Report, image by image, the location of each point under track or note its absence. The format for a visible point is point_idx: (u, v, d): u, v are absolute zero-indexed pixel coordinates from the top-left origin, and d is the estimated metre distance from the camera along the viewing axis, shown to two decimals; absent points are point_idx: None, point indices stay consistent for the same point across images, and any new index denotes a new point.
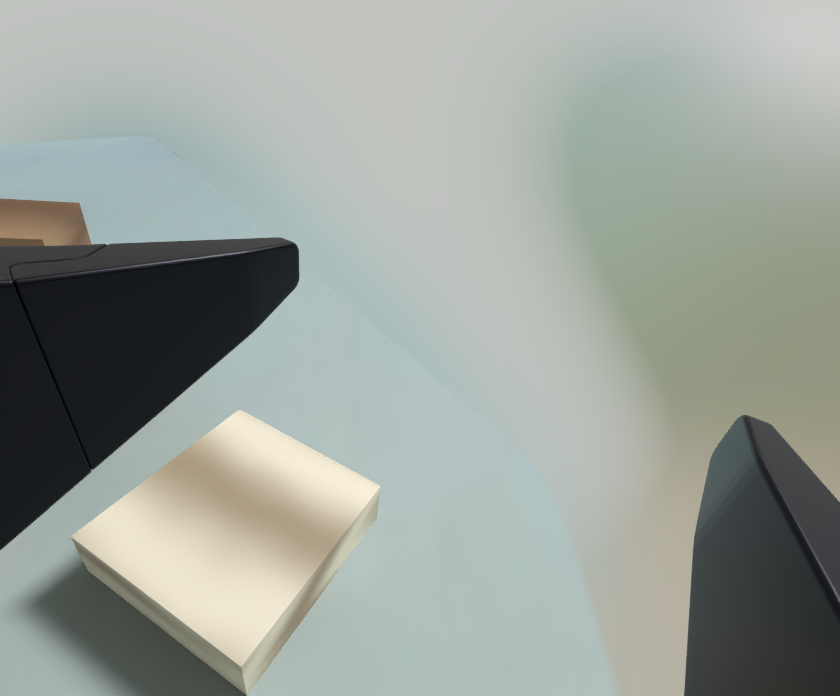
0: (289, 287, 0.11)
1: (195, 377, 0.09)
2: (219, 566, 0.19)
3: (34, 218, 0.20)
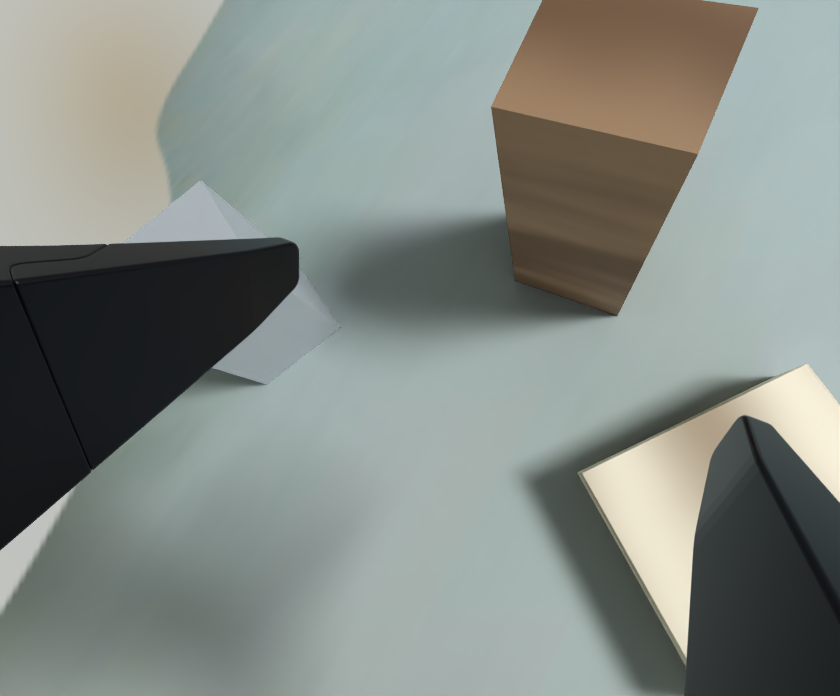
0: (289, 287, 0.11)
1: (195, 377, 0.09)
2: None
3: (680, 70, 0.11)
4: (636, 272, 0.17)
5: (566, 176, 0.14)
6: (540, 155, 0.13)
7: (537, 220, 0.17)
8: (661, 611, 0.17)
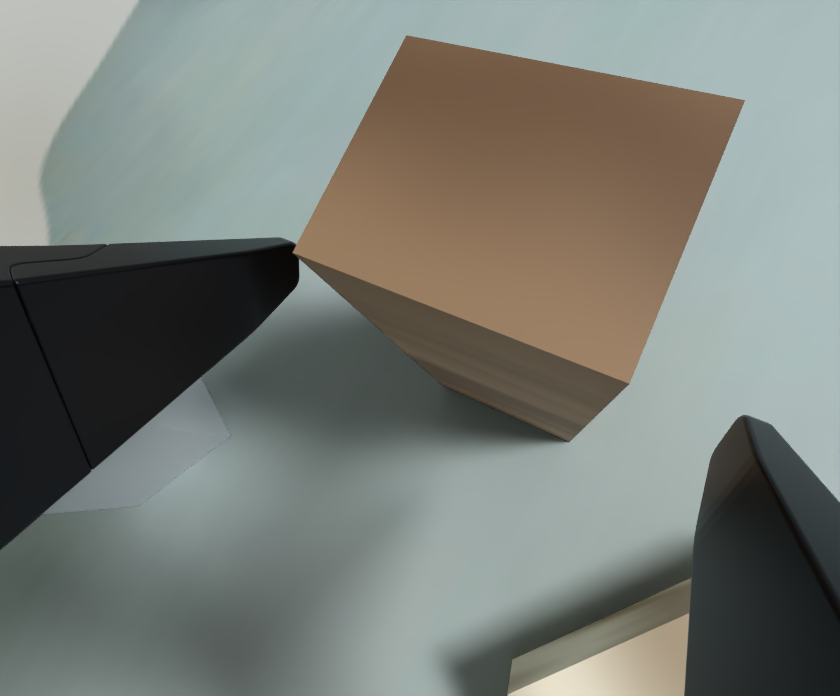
0: (289, 287, 0.11)
1: (195, 377, 0.09)
2: None
3: (605, 211, 0.06)
4: (578, 429, 0.12)
5: (442, 340, 0.09)
6: (396, 314, 0.08)
7: (434, 359, 0.12)
8: None
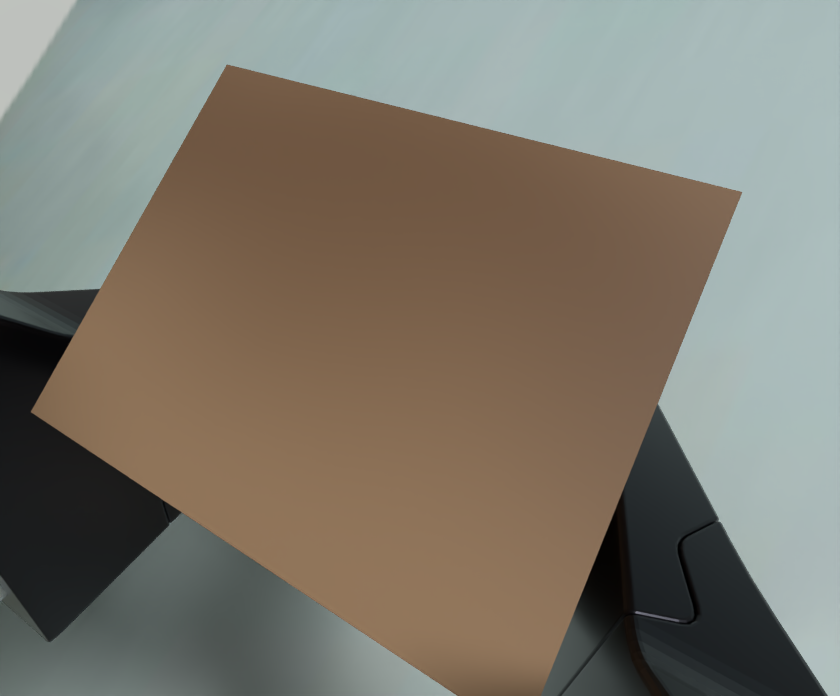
0: None
1: None
2: None
3: (497, 384, 0.04)
4: None
5: None
6: None
7: None
8: None
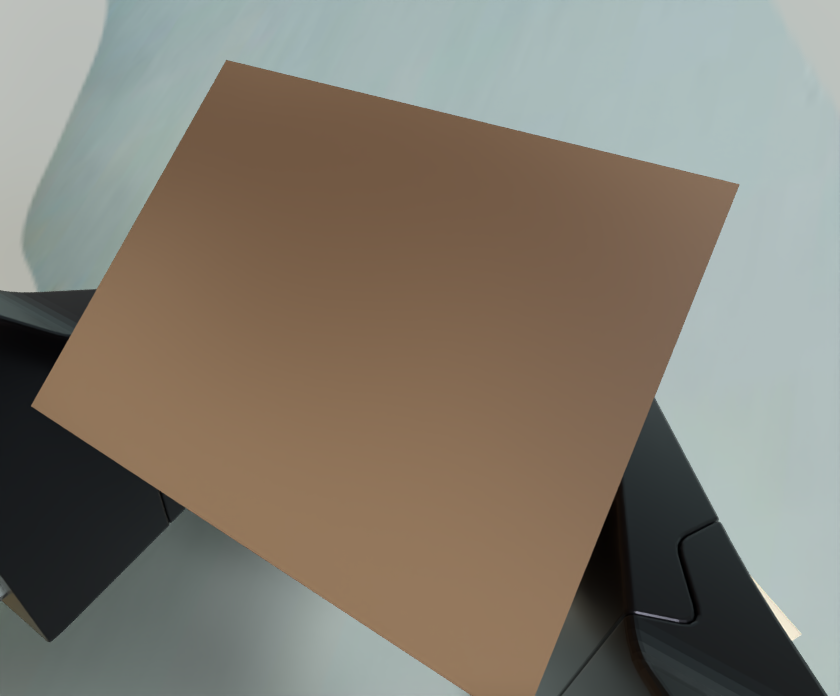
0: None
1: None
2: None
3: (496, 377, 0.04)
4: None
5: None
6: None
7: None
8: None
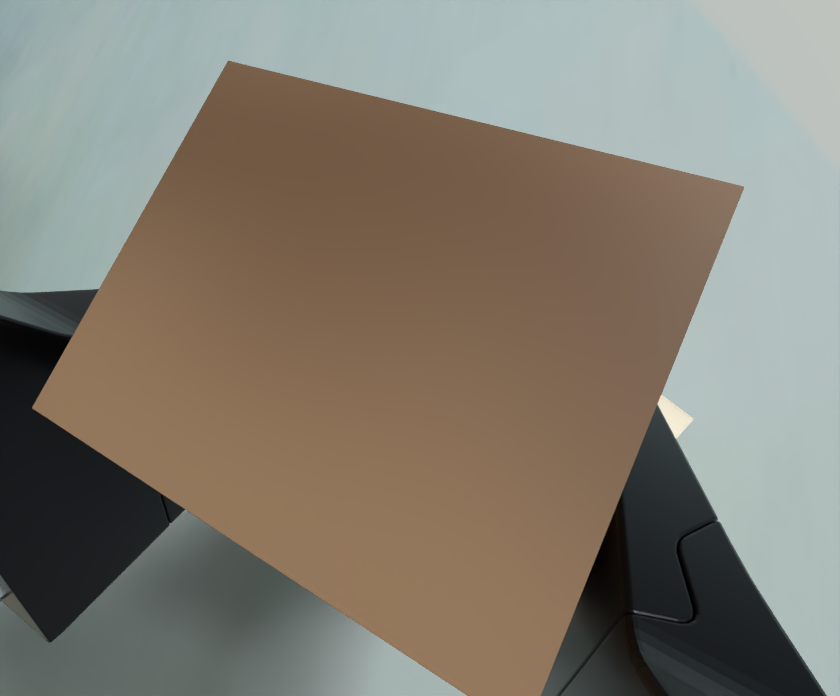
0: None
1: None
2: None
3: (499, 380, 0.04)
4: None
5: None
6: None
7: None
8: None
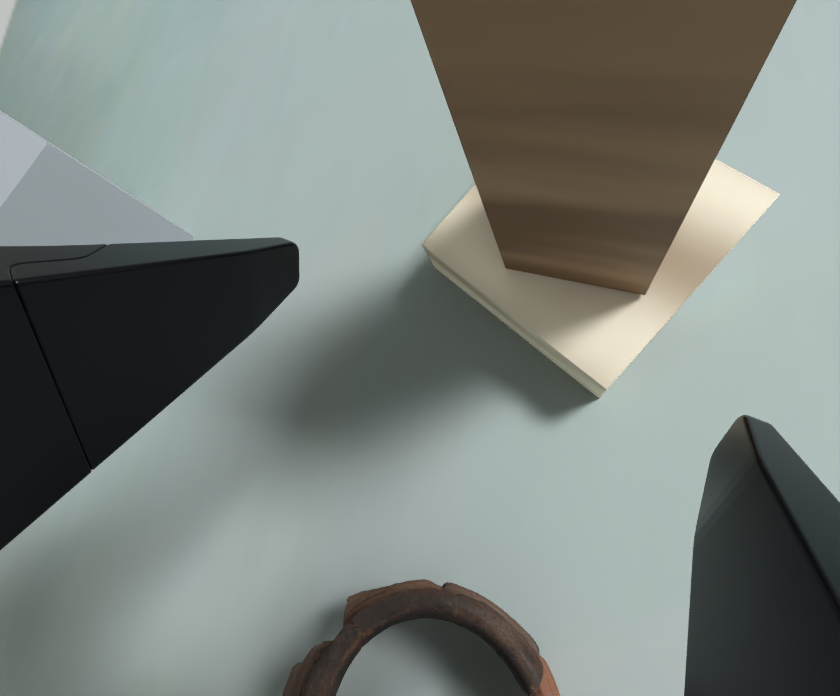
0: (289, 287, 0.11)
1: (195, 377, 0.09)
2: (571, 287, 0.18)
3: None
4: (672, 234, 0.12)
5: (552, 96, 0.08)
6: (506, 68, 0.08)
7: (519, 180, 0.12)
8: (521, 321, 0.18)
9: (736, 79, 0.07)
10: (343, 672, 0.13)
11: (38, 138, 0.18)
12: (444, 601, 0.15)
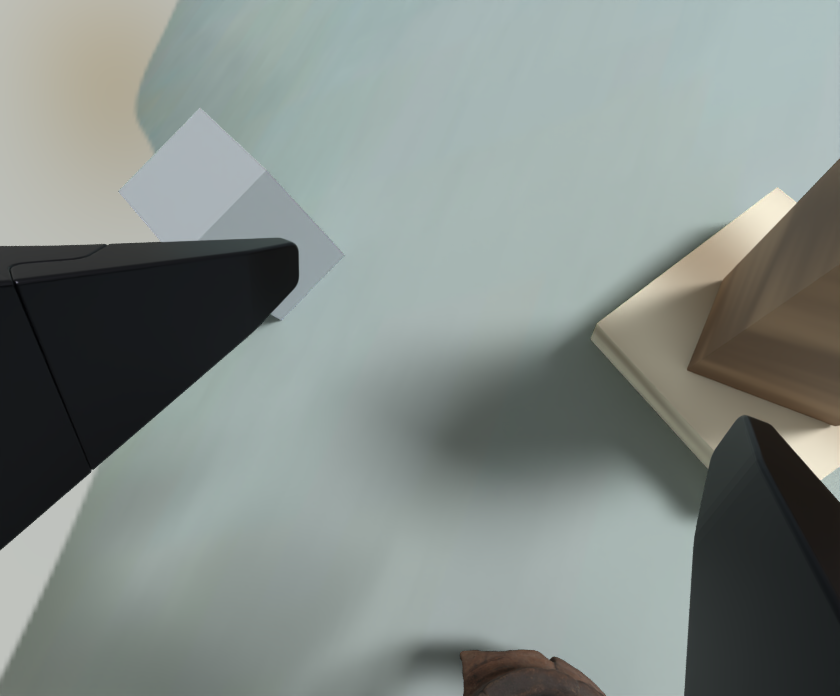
0: (289, 287, 0.11)
1: (195, 377, 0.09)
2: (749, 402, 0.18)
3: None
4: None
5: None
6: None
7: (822, 331, 0.12)
8: (691, 425, 0.18)
9: None
10: None
11: (257, 162, 0.19)
12: (568, 686, 0.16)
